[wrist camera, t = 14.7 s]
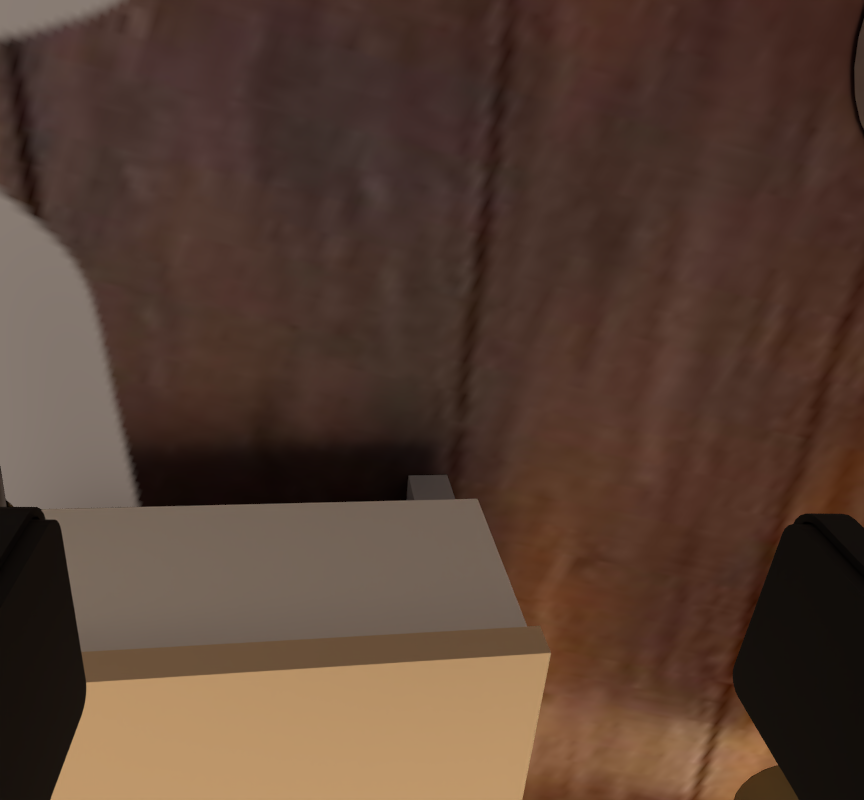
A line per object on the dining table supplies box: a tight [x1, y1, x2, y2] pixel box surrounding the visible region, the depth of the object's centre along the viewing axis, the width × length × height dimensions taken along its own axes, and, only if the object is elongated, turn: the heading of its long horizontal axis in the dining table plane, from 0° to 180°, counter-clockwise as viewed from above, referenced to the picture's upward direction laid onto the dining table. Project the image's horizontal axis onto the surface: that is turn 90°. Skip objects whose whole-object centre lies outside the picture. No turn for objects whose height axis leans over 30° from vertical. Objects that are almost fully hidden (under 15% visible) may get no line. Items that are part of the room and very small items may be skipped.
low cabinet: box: [41, 475, 551, 800], centre depth 32 cm, size 17×19×15 cm
